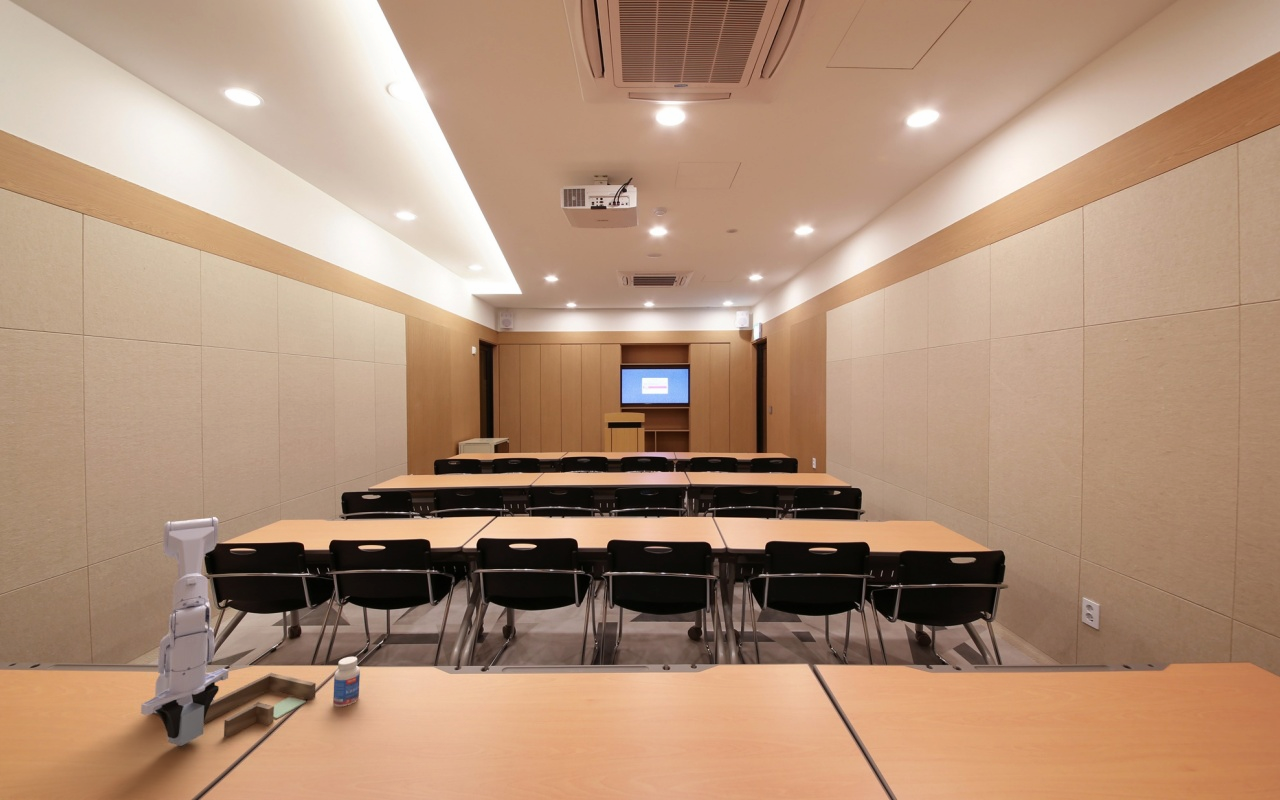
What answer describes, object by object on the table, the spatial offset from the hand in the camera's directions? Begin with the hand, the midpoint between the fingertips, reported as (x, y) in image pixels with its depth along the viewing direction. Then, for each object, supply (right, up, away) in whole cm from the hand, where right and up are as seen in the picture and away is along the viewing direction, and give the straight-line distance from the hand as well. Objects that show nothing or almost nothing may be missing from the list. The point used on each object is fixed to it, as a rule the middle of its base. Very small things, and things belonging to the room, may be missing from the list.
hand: (185, 730), depth 104 cm
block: (0, -2, 0) cm, 2 cm away
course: (+6, -4, +12) cm, 14 cm away
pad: (+11, -4, +13) cm, 18 cm away
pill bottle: (+24, -4, +16) cm, 29 cm away
